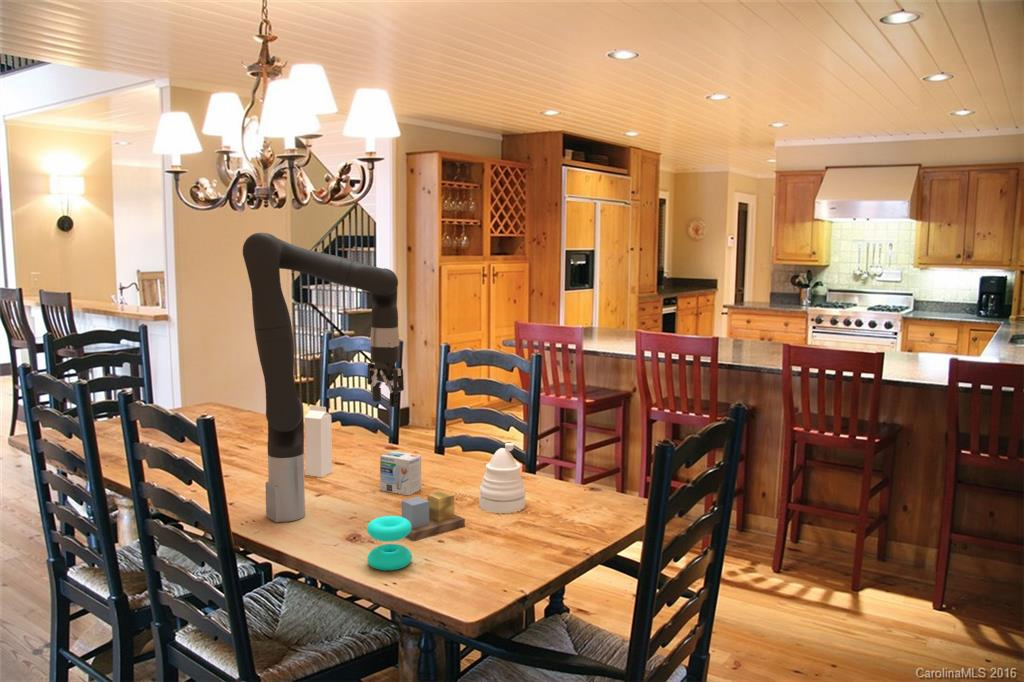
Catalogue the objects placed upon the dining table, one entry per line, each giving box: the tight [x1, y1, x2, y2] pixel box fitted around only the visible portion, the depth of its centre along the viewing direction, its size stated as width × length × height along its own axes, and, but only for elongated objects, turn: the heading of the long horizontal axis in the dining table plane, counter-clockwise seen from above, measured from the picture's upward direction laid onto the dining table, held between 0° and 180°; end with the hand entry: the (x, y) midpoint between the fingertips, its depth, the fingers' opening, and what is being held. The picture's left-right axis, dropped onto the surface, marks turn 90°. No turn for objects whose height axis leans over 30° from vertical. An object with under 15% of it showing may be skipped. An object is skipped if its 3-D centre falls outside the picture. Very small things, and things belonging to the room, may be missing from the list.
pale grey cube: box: [401, 496, 429, 529], centre depth 198 cm, size 5×5×6 cm
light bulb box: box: [379, 450, 422, 496], centre depth 232 cm, size 11×7×11 cm, turn 62°
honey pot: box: [478, 442, 526, 514], centre depth 218 cm, size 13×13×18 cm
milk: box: [304, 405, 333, 478], centre depth 246 cm, size 6×6×22 cm
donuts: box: [366, 515, 413, 572], centre depth 178 cm, size 10×10×10 cm
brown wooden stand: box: [405, 490, 466, 542], centre depth 201 cm, size 16×10×8 cm, turn 131°
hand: (385, 404), depth 209 cm, fingers open, 8 cm apart
